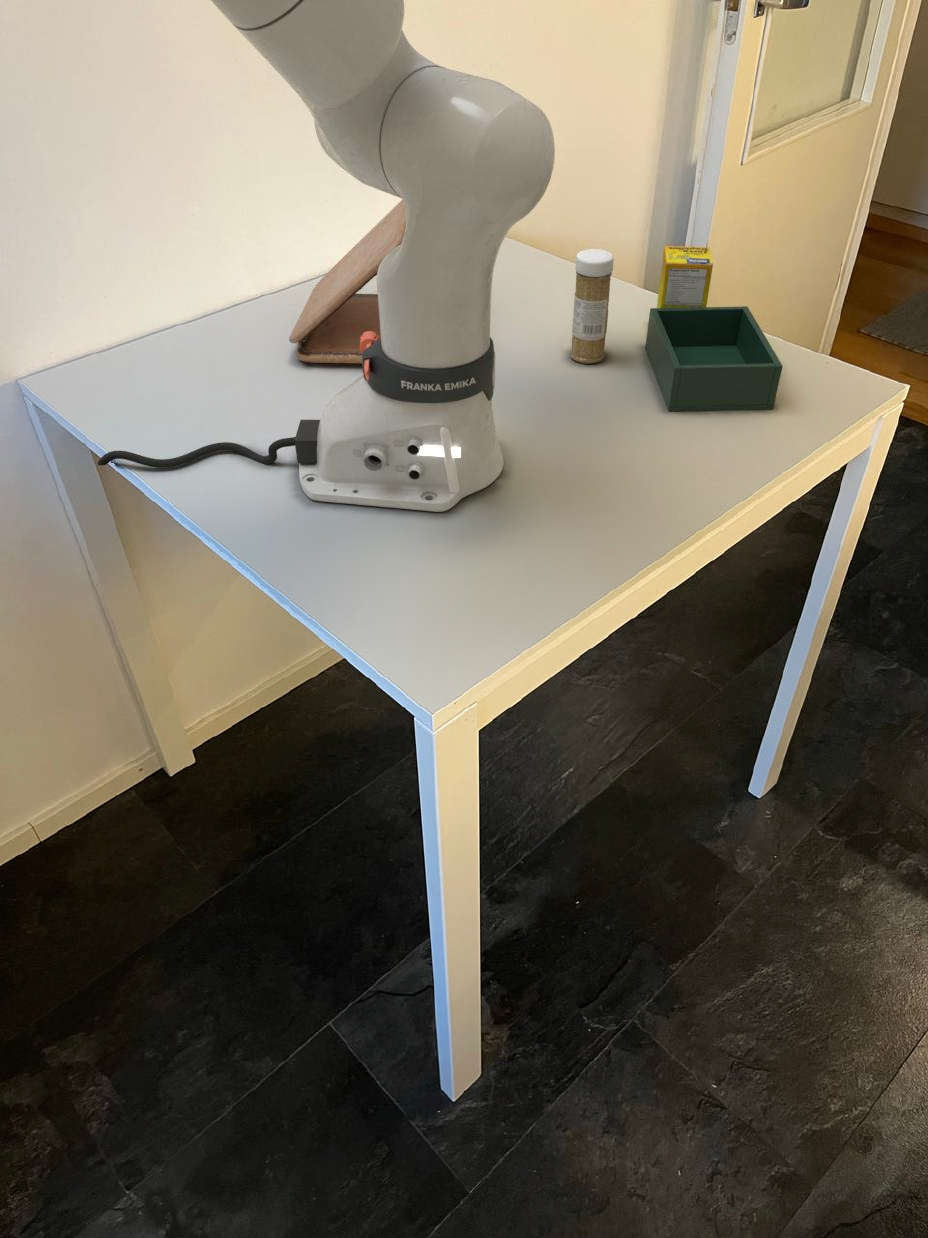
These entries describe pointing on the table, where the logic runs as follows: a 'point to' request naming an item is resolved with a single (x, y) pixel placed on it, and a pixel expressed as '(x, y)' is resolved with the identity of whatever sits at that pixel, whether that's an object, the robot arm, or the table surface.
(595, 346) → the sprinkles bottle
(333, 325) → the case
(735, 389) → the box
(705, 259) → the supplement box
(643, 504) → the table surface
